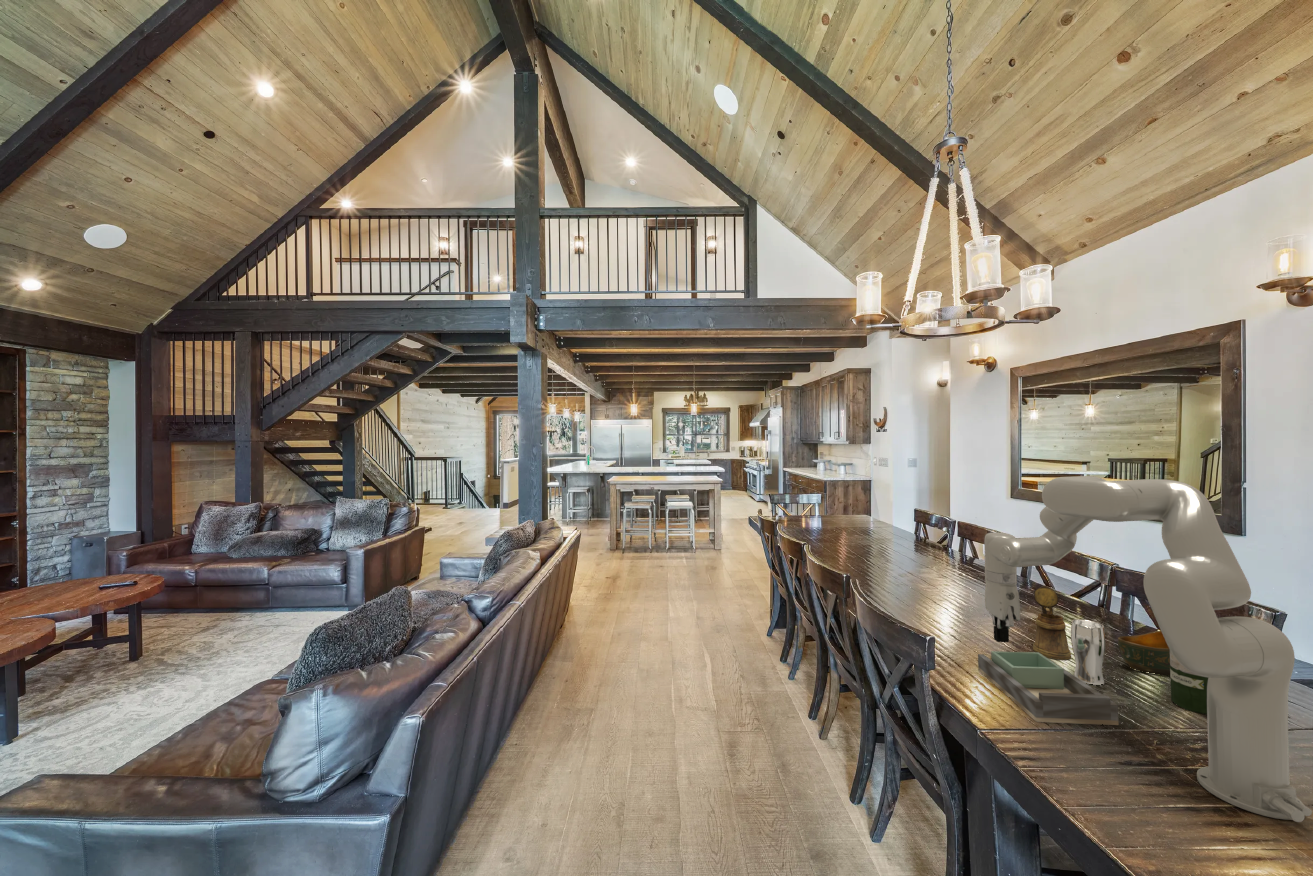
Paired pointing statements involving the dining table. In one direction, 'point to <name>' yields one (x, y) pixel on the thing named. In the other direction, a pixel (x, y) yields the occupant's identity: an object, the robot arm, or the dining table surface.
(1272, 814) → the robot arm
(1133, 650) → the green gold bowl
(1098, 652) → the beer glass
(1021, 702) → the bay
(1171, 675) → the wine bottle
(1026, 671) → the box
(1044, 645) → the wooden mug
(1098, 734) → the dining table surface
